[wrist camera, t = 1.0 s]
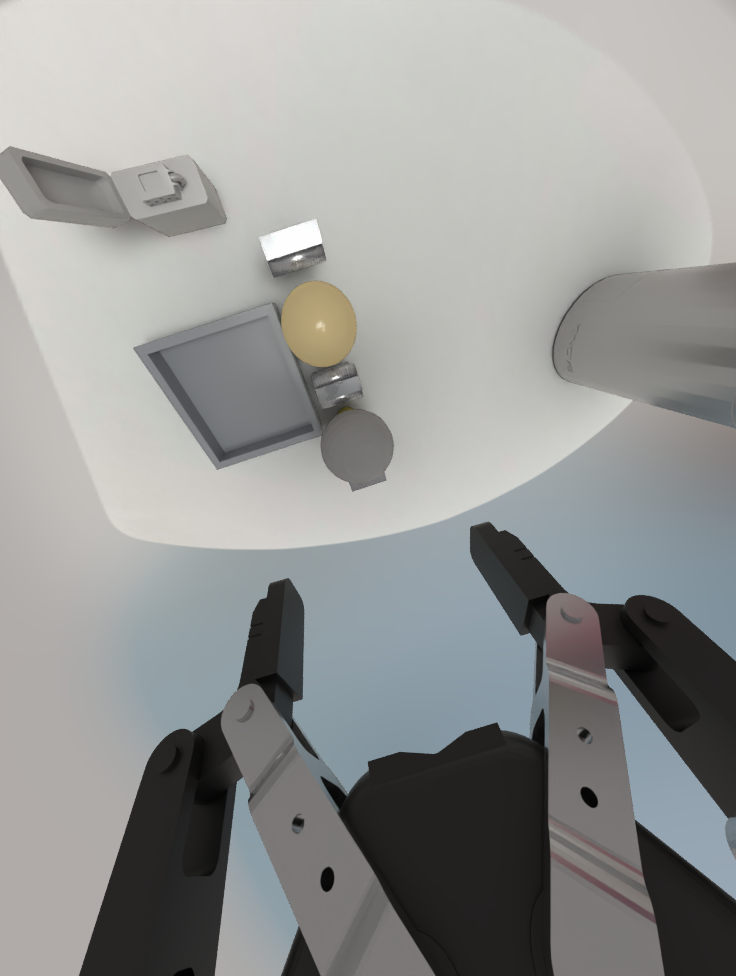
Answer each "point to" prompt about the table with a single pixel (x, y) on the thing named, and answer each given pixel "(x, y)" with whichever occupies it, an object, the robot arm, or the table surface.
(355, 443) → the light bulb
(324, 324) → the cream domed cylinder
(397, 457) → the table surface
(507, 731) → the robot arm
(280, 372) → the tray
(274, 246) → the clip block
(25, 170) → the lighter
